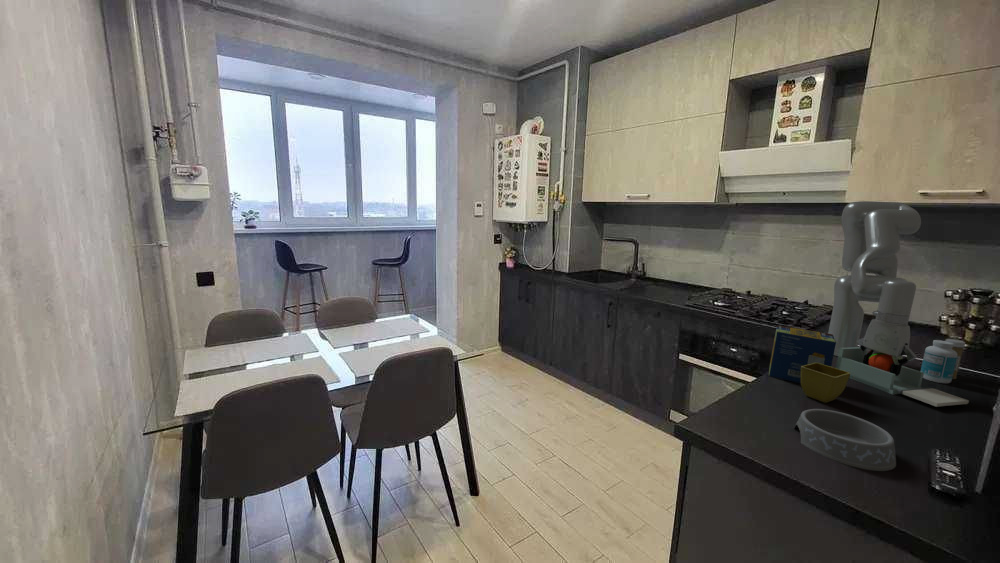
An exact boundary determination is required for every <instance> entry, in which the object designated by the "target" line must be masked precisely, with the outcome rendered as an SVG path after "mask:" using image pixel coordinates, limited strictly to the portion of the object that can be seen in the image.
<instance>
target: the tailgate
mask: <svg viewBox="0 0 1000 563" xmlns="http://www.w3.org/2000/svg"><path fill="white" fill-rule="evenodd" d="M898 392H899V393H902V394H901V395H904V396H907V397H909V398H912V399H915V400H917V401H921V402H923V403H925V404H929V405H931V406H933V407H936V408H938V407H946V406H957V405H958V406H961V405H968V404H969V402H970V400H968V399H966V398H962V397H960V396H956V395H953V394H950V393H949V392H945V391H942V390H939V389H937V388H934V387H922V388H919V389H906V390H898Z"/></svg>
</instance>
